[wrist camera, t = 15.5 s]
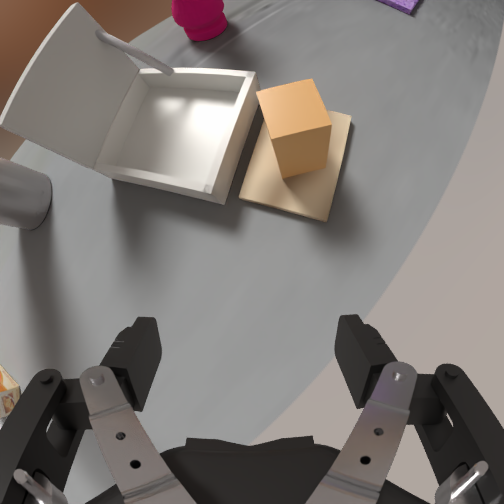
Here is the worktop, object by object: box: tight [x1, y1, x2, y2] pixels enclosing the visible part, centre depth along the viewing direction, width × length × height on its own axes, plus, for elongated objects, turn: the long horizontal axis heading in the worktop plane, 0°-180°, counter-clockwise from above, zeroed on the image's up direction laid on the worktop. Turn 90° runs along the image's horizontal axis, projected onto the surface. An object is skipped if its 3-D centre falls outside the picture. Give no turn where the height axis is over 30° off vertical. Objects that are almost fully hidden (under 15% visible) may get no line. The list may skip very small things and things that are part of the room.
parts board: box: [239, 110, 351, 222], centre depth 28 cm, size 9×12×1 cm
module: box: [256, 79, 332, 179], centre depth 23 cm, size 4×4×9 cm
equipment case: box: [0, 3, 261, 205], centre depth 23 cm, size 17×14×18 cm
